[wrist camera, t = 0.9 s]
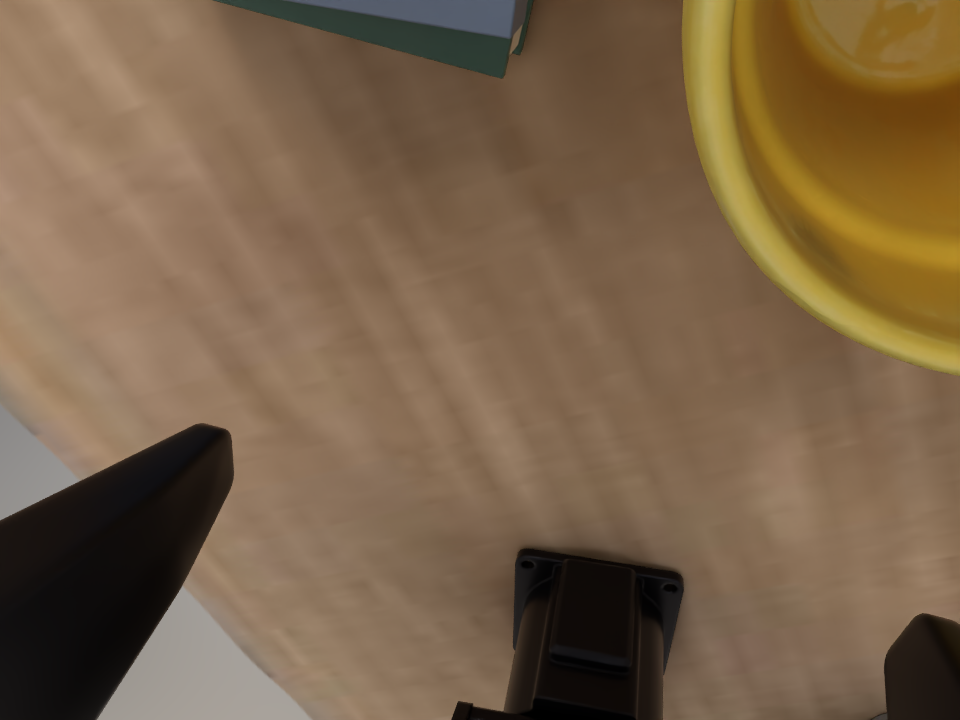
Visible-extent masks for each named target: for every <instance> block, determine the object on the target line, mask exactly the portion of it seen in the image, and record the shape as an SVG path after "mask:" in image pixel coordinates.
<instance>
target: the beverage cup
mask: <svg viewBox="0 0 960 720" xmlns="http://www.w3.org/2000/svg"><path fill="white" fill-rule="evenodd" d="M872 720H887V713H886V714H882V715H879V716H877V717H876V718H874V719H872Z"/></svg>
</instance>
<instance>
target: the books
mask: <svg viewBox="0 0 960 720" xmlns="http://www.w3.org/2000/svg"><path fill="white" fill-rule="evenodd" d="M214 1H218V2H221V3H225V4H229V5H232V6H236V7H240V8H243V9H247V10H251V11H254V12H258V13H262V14H265V15H269V16H273V17H276V18H280V19H284V20H287V21H291V22H295V23H299V24H302V25H306V26H310V27H313V28H317V29H321V30H324V31H328V32H332V33H335V34H339V35H343V36H346V37H350V38H354V39H357V40H361V41H365V42H368V43H372V44H376V45H379V46H383V47H387V48H391V49H394V50H398V51H402V52H405V53H409V54H413V55H416V56H420V57H424V58H427V59H431V60H435V61H438V62H442V63H446V64H449V65H453V66H457V67H460V68H464V69H468V70H471V71H475V72H479V73H483V74H486V75H490V76H494V77H497V78H501V79H502V78H503V77H504V76H505V73H506V68H507V63H508V59H509V56H510V54H511V53H514V54H517V55H520V54H521V53H522V50H523V46H524V41H525V37H526V32H527V28H528V23H529V19H530V14H531V10H532V5H533V1H534V0H214Z"/></svg>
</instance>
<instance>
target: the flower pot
mask: <svg viewBox="0 0 960 720" xmlns="http://www.w3.org/2000/svg"><path fill="white" fill-rule="evenodd" d="M682 56H683V71H684V81H685V90H686V98H687V106H688V111H689V116H690V121H691V126H692V131H693V136H694V140H695V144H696V147H697V151H698V154H699V158H700V161H701V165H702V168H703V170H704V173H705V176H706V178H707V181H708V184H709V186H710V189H711V191H712V193H713V195H714V198H715V200H716V202H717V204H718V206H719V208H720V210H721V212H722V215H723V216H724V218H725V220H726V221H727V223H728V225H729V226H730V228H731V229H732V231H733V233H734V234H735V236H736V238H737V239H738V241H739V243H740V244H741V246H742V247H743V248H744V250H745V251H746V252H747V254H748V255H749V256H750V257H751V259H752V260H753V261H754V262H755V264H756V265H757V266H758V267H759V268H760V269H761V270H762V271H763V273H764V274H765V275H766V276H767V277H768V278H769V279H770V280H771V281H772V282H773V283H774V284H775V285H776V286H777V287H778V288H779V289H780V290H781V291H782V292H783V293H784V294H785V295H787V296H788V297H789V298H790V299H791V300H792V301H794V302H795V303H796V304H797V305H798V306H800V307H801V308H802V309H804V310H805V311H807V312H808V313H809V314H811V315H812V316H814V317H815V318H816V319H818V320H819V321H821V322H823V323H824V324H826V325H827V326H829V327H831V328H832V329H834V330H835V331H837V332H839V333H841V334H843V335H845V336H847V337H848V338H850V339H852V340H854V341H856V342H858V343H860V344H862V345H864V346H866V347H869V348H871V349H873V350H875V351H878V352H880V353H882V354H885V355H887V356H890V357H892V358H895V359H898V360H901V361H904V362H907V363H910V364H913V365H916V366H919V367H923V368H927V369H931V370H935V371H939V372H943V373H947V374H952V375H957V376H960V0H683V17H682Z"/></svg>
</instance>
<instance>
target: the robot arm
mask: <svg viewBox="0 0 960 720" xmlns="http://www.w3.org/2000/svg"><path fill="white" fill-rule="evenodd" d="M233 478H234V467H233V452H232V439H231V435H230V433H229V431H228V430H226V429H224V428H220V427H216V426H212V425H208V424H204V423H200V424H196V425H193V426H191V427H189V428H187V429H185V430H183V431H181V432H179V433H177V434H175V435H173V436H171V437H169V438H167V439H165V440H163V441H161V442H159V443H157V444H155V445H153V446H151V447H149V448H146V449H144V450H142V451H140V452H138V453H136V454H134V455H132V456H130V457H128V458H126V459H124V460H122V461H120V462H118V463H116V464H114V465H112V466H110V467H108V468H106V469H104V470H102V471H100V472H98V473H96V474H94V475H92V476H90V477H88V478H86V479H84V480H82V481H79V482H78V483H75V484H73V485H71V486H69V487H67V488H65V489H63V490H61V491H59V492H57V493H55V494H53V495H51V496H49V497H47V498H45V499H43V500H41V501H39V502H37V503H35V504H33V505H31V506H29V507H27V508H25V509H23V510H21V511H19V512H17V513H15V514H12V515H10V516H9V517H6V518H4V519H2V520H0V720H97V718H98V717H99V715H100V714H101V712H102V711H103V709H104V708H105V706H106V705H107V703H108V701H109V700H110V698H111V697H112V695H113V694H114V692H115V691H116V689H117V687H118V686H119V684H120V683H121V681H122V679H123V678H124V677H125V675H126V673H127V672H128V670H129V669H130V667H131V666H132V664H133V663H134V661H135V659H136V658H137V656H138V655H139V653H140V652H141V650H142V649H143V647H144V645H145V644H146V642H147V641H148V639H149V638H150V636H151V635H152V633H153V631H154V630H155V628H156V627H157V625H158V624H159V622H160V621H161V619H162V617H163V616H164V614H165V613H166V611H167V610H168V608H169V606H170V605H171V603H172V602H173V600H174V598H175V597H176V595H177V594H178V592H179V590H180V589H181V587H182V585H183V583H184V581H185V579H186V577H187V576H188V574H189V572H190V570H191V568H192V566H193V564H194V562H195V560H196V558H197V556H198V554H199V552H200V550H201V548H202V546H203V544H204V542H205V540H206V538H207V536H208V534H209V532H210V530H211V528H212V526H213V524H214V521H215V519H216V517H217V515H218V513H219V511H220V509H221V507H222V505H223V503H224V501H225V499H226V497H227V495H228V493H229V491H230V489H231V486H232V483H233ZM529 561H531V562H529ZM683 591H684V582H683V578H682V576H681V575H679V574H678V573H676V572H672V571H666V570H660V569H653V568H647V567H641V566H635V565H628V564H622V563H616V562H610V561H603V560H597V559H591V558H585V557H578V556H572V555H566V554H560V553H553V552H547V551H541V550H535V549H522V550H520V551H519V552H518V554H517V558H516V563H515V596H514V630H513V648H514V650H515V655H514V660H513V665H512V670H511V675H510V680H509V685H508V690H507V696H506V701H505V706H504V711H497V710H491V709H485V708H480V707H474V706H473V703H467V702H461V701H458V703H457V706H456V708H455V711H454V714H453V717H452V719H451V720H663V675H664V673H665V669H666V665H667V660H668V656H669V652H670V647H671V643H672V639H673V634H674V630H675V626H676V621H677V617H678V613H679V608H680V604H681V600H682V596H683ZM884 675H885V691H886V707H887V720H960V624H958V623H957V622H955V621H953V620H949V619H945V618H942V617H938V616H934V615H930V614H925V613H922V614H919V615H917V616H915V617H914V618H913V620H912V621H911V622H910V623H909V625H908V626H907V627H906V628H905V630H904V631H903V632H902V633H901V635H900V636H899V637H898V638H897V640H896V641H895V642H894V643H893V645H892V646H891V647H890V649H889V650H888V652H887V655H886V658H885V664H884Z"/></svg>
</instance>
